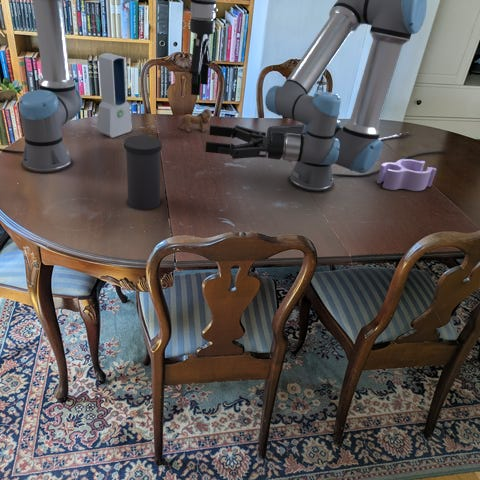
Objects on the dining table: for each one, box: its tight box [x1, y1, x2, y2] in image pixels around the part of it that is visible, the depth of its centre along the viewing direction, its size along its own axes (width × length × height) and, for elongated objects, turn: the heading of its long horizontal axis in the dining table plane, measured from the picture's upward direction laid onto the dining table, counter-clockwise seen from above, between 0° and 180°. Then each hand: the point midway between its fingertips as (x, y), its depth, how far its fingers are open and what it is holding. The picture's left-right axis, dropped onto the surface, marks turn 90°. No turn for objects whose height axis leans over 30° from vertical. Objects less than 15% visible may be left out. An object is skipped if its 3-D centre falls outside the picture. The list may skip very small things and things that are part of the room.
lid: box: [123, 135, 163, 155], centre depth 134 cm, size 11×11×2 cm
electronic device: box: [96, 52, 133, 139], centre depth 181 cm, size 12×8×30 cm, turn 148°
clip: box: [376, 158, 437, 192], centre depth 171 cm, size 20×12×7 cm, turn 109°
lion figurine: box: [177, 108, 213, 133], centre depth 197 cm, size 15×5×9 cm, turn 110°
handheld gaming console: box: [266, 124, 304, 137], centre depth 189 cm, size 23×3×10 cm, turn 108°
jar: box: [125, 150, 161, 211], centre depth 139 cm, size 10×10×19 cm
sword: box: [378, 133, 409, 141], centre depth 213 cm, size 31×3×1 cm, turn 126°
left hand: (199, 89), depth 153 cm, fingers open, 13 cm apart
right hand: (207, 138), depth 130 cm, fingers open, 13 cm apart
